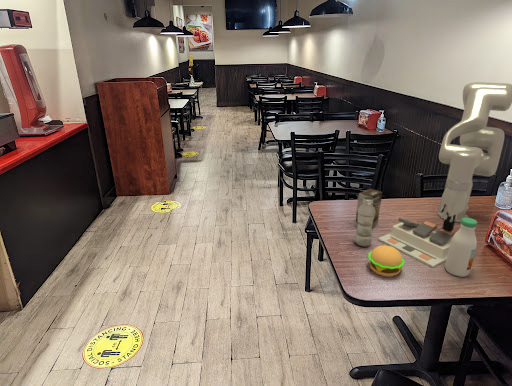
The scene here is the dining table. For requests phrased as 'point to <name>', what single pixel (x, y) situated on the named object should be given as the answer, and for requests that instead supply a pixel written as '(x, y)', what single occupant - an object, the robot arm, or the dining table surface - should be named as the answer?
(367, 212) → the plastic bottle
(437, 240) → the switch
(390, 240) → the switch board
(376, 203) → the coffee box
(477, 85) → the robot arm
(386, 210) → the dining table surface
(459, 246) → the milk bottle
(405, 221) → the switch
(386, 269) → the hamburger
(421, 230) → the switch middle
